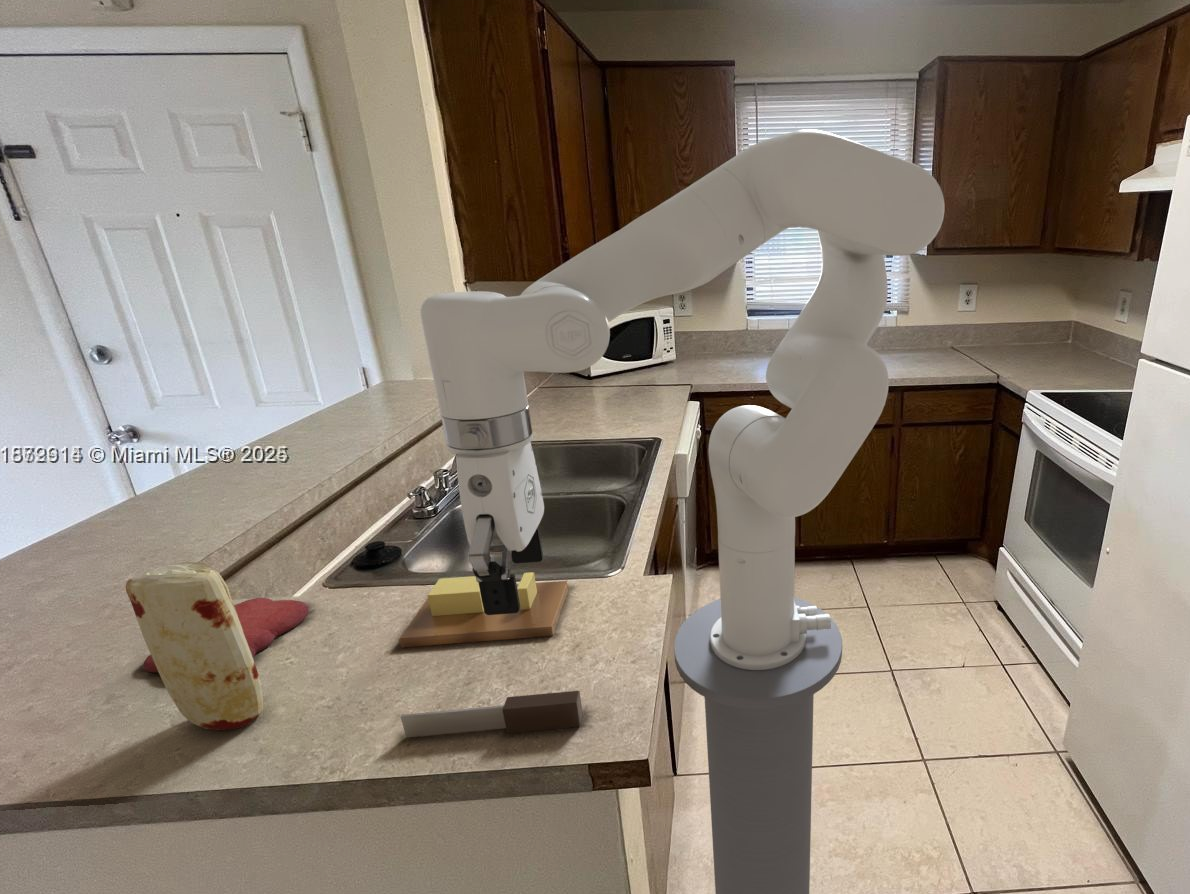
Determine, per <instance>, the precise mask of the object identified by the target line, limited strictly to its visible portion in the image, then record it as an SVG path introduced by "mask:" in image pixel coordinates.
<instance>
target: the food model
mask: <svg viewBox="0 0 1190 894" xmlns="http://www.w3.org/2000/svg"><path fill="white" fill-rule="evenodd" d="M125 592H126V594H127V597H128V600H129V601H130V604H131V606H132V609H133V612H134V615H135V618H136V620H137V624H138V626H139V629H140V632H141V636H142V638H143V640H144V642H145V644H146V646H147V649H148V652H149V653H150V655H151V656H152V658H153V660H154V663H155V665H156V667H157V669H158V672H159V673H158V672H157V673H158V674H159V676H160V678H161V681H162V683H163V685H164V688H165V689H166V691H167V693H168V695H169V697H170V699H171V700H172V701H173V703H174V705H175V706H176V708H177V709H178V711H179V712H180V713H181V715H182V716H183V717H184V718H186V720H188V722H190V723H192V724H194V725H195V726H197V727H201V728H203V729H205V730H213V731H219V730H221V731H223V730H234V729H240V728H242V727H244V726H246V725H247V726H248V725H249V724H250V723H251V722H252V721H254V720H256V719H257V718H258V717H260V715H262V713H263V709H264V695H263V688H262V682H261V678H260V676H259V672H258V669H257V667H256V662H255V659H254V658H253V657H252V654H251V651H250V649H249V646H248V643H247V640H246V637H245V635H244V632H243V629H242V626H241V624H240V621H239V618H238V615H237V612H236V610H235V607H234V605H235V604H234V601H233V599H232V596H231V593H230V590H229V587H228V584H227V582H226V581H225V580H224V578H223V577H222V575H221V574H220V573H219V572H218V571H217V570H215V569H214V567H212V566H211V565H209V564H208V563H206V562H198V561H197V562H196V561H185V562H179V563H178V562H177V563H173V564H168V565H164V566H161V567H156V568H153V569H151V570H149V571H146V572H144V573H142V574H140V575H137V576H136V577H132V578H129V579H128V580H127V581H126V583H125Z"/></svg>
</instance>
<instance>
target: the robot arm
mask: <svg viewBox="0 0 1190 894" xmlns="http://www.w3.org/2000/svg"><path fill="white" fill-rule="evenodd" d="M945 210H946V209H945V198H944V194H943V191H942V188H941V186H940V184H939V182H938V181H937V180H936V178H935V177H934V176H933V175H932V174H931V173H930V172H929V171H928V170H926V169H924V168H923V167H922V166H920V165H918V164H916V163H914V162H912V161H908V160H906V159H903V158H900V157H898V156H895V155H892V154H890V153H886V152H883V151H881V150H878V149H875V148H873V147H870V146H868V145H865V144H862V143H860V142H857V141H855V140H852V139H849V138H846V137H843V136H840V135H837V134H834V133H831V132H827V131H824V130H819V129H808V128H807V129H798V130H795V131H791V132H789V133H788V132H787V133H785V134H781V135H777V136H774V137H770V138H767V139H763V140H761V141H759V142H757V143H755V144H753V145H750V146H749V147H747V148H745V149H744V150H742V151H741V152H740V153H738V154H736V155H735V156H733V157H732V158H730V159H729V160H727V161H726V162H724V163H722V164H721V165H719V166H718V167H716V168H715V169H713V170H712V171H711V172H708V173H707V174H706V175H704V176H702V177H701V178H699V179H698V180H696V181H695V182H693V183H691V184H690V185H689V186H687V187H685V188H684V189H683V190H680V191H678V192H677V193H675V194H674V195H673V196H671V197H670V198H668V199H666V200H665V201H663V202H661V203H660V204H659V205H657V206H655V207H654V208H652V209H650V210H648V211H647V212H645V213H643V214H642V215H640V216H638V217H637V218H634V219H633V220H632V221H631V222H629V223H628V224H626V225H625V226H623V227H622V228H621V229H619V230H617V231H615V232H613V233H612V234H610V235H608V236H607V237H605V238H603V239H601V240H600V241H598V242H596V243H595V244H593V245H591V246H590V247H588V248H586V249H584V250H583V251H581V252H579V253H578V254H577V255H575V256H573V257H571V258H570V259H568V260H567V261H565V262H564V263H562V264H560V265H559V266H558V267H556V268H555V269H553V270H551V271H550V272H548V273H546V274H545V275H543V276H542V277H540V278H538V279H537V280H536V281H534V282H533V283H531V284H530V285H529V286H528V287H526V288H525V289H524V290H523V291H522V292H521V293H520V294H519V295H515V296H506V295H504V294H503V293H499V292H495V291H487V290H486V291H483V290H475V291H471V290H470V291H452V292H444V293H439V294H433V295H431V296H429V297H427V298H426V299H424V300H423V303H422V304H421V308H420V318H421V325H422V330H423V334H424V339H425V344H426V349H427V353H428V354H427V355H428V359H429V363H430V369H431V373H432V379H433V383H434V388H435V393H436V399H437V403H438V408H439V412H440V418H441V423H442V424H441V425H442V429H443V432H444V438H445V444H446V448H447V450H448V452H450V453H451V454H454V455H455V462H456V473H457V474H456V476H457V484H458V491H459V492H458V493H459V500H460V505H461V506H460V507H461V515H462V520H463V525H464V530H465V533H466V534H465V535H466V539H467V543H468V546H469V551H468V555H467V556H468V557H467V558H468V562H469V564H470V566H471V567H472V568H471V569H472V572H473V576H476V581H477V582H478V583H479V588H480V593H481V598H482V603H483V608H484V612H485V614H486V615H498V614H511V613H517V612H519V610H520V601H519V595H518V590H517V584H518V583H517V578H516V574H515V573H511V569H512V563H513V564H528V563H540V562H542V561H543V559H544V553H543V552H544V551H543V546H542V540H541V533H540V528H539V525H540V524H541V521H542V519H543V516H544V514H545V503H544V502H545V501H544V496H543V492H542V488H541V487H542V486H541V482H540V477H539V473H538V468H537V463H536V458H535V454H534V450H533V447H532V442H533V441H534V433H533V425H532V417H531V412H530V405H529V400H528V393H527V386H526V379H525V372H530V373H531V372H532V373H534V372H536V373H552V374H553V373H554V374H555V373H557V374H567V373H568V374H569V373H575V372H580V371H583V370H587V369H588V368H591V366H593V365H595V364H597V363H598V362H599V361H600V360H601V359H602V357H603V356H604V355H605V353H606V352H607V349H608V347H609V343H610V337H611V329H610V324H609V323H611V322H613V320H615V319H616V318H618V317H620V316H622V315H623V314H624V313H626V312H628V311H630V310H632V309H633V308H635V307H637V306H640V305H643V304H644V303H647V302H650V301H652V300H655V299H658V298H662V297H666V296H670V295H677V294H681V293H685V292H688V291H691V290H693V289H696V288H699V287H701V286H703V285H706V284H708V283H709V282H711V281H712V280H714V279H715V278H716V277H718V276H719V275H721V274H722V273H724V272H725V271H726V270H728V269H729V268H730V267H732V266H734V265H735V264H736V263H738V262H739V261H741V260H742V259H744V258H745V257H747V256H748V255H750V254H751V253H752V252H754V251H755V250H757V249H759V248H760V247H761V246H763V245H764V244H766V243H767V242H769V241H770V240H772V239H773V238H775V237H776V236H777V235H779V234H780V233H782V232H783V231H786V230H789V229H811V230H816V233H817V237H818V240H819V241H818V242H819V246H820V250H821V261H822V262H821V272H820V276H819V279H818V283H817V284H816V287H815V288H814V290H813V292H812V294H811V295H810V297H809V299H808V301H807V302H806V303H805V305H804V307H803V308H802V310H801V311H800V313H799V314H798V315H797V317H796V319H795V321H794V322H793V324H792V325H791V327H790V328H789V330H787V333H786V334H785V336H784V337H783V339H781V342H780V343H779V345H778V346H777V347H776V349H775V351H774V352H773V354H772V355H771V357H770V360H769V362H768V364H767V367H766V372H765V381H766V385H767V388H768V390H769V392H770V393H771V395H772V396H773V397H774V398H775V399H776V400H777V401H778V402H779V403H781V404H783V405H784V406H786V407H788V408H790V409H791V410H790V411H789V412H788V414H787V416H786V417H784V416H783V415H780V414H778V413H776V412H774V411H773V410H771V409H768V408H765V407H763V406H759V405H751V404H747V405H740V406H736V407H734V408H731V409H729V410H727V411H726V412H725V413H723V414H722V415H721V416H720V417H719V418H718V420H716V422H715V424H714V425H713V428H712V430H711V432H710V435H709V440H708V449H707V450H708V463H709V471H710V476H711V480H712V486H713V493H714V497H715V506H716V518H717V520H716V522H717V546H718V572H719V593H720V594H719V595H720V598H719V599H721V618H719V619H718V620H717V621H716V623H715V624H714V625H713V627H712V629H711V634H710V642H711V647H712V650H713V651H714V653H715V654H716V655H717V656H718V657H719V658H720V659H721V660H722V661H724V662H726V663H727V664H729V665H732V666H734V667H737V668H741V669H747V670H767V669H773V668H777V667H780V666H783V665H785V664H787V663H789V662H791V661H792V660H794V659H795V658H796V657H797V656H798V655H799V654H800V653H801V652H802V650H803V649H804V647H805V643H806V633H807V630H815V629H816V630H823V629H830V628H831V620H830V618H831V616H830V614H829V613H826V614H821V615H818V612H817V607H818V606H817V605H815V606H809V607H802V608H800V607H799V606H796V604H795V601H794V597H795V580H796V579H795V578H796V577H795V567H796V566H795V565H796V564H795V563H796V561H795V560H796V556H795V555H796V554H795V553H796V551H795V550H796V518H797V517H800V516H803V515H805V514H808V513H809V512H811V511H812V510H814V509H815V508H816V507H818V506H819V505H820V504H821V503H822V502H823V500H825V498H826V497H827V496H828V495H829V493H831V491H832V489H834V487H835V486H836V484H837V482H838V481H839V479H840V478H841V477H842V475H843V474H844V472H845V471H846V469H847V468H848V466H849V464H850V463H851V461H852V460H853V458H854V457H855V456H856V454H857V453H858V451H859V450H860V448H861V447H862V445H863V444H864V442H865V441H866V439H867V438H868V436H869V434H870V433H871V432H872V430H873V428H874V426H875V425H876V424H877V422H878V421H879V418H880V417H881V415H882V413H883V410H884V407H885V406H886V401H887V398H888V395H889V387H890V383H889V382H890V379H889V372H888V367H887V366H886V363H885V361H884V359H883V357H882V356H881V355H880V354H879V353H878V352H877V351H876V350H875V349H874V348H872V347H871V346H870V345H867V344H869V342H870V340H871V338H872V336H873V335H874V333H875V331H876V330H877V327H878V326H879V324H880V323H881V321H882V318H883V316H884V314H885V310H886V307H887V303H888V276H887V269H886V261H885V256H893V257H896V256H897V257H898V256H899V257H901V256H910V255H912V254H916V253H918V252H920V251H922V250H924V249H925V248H926V247H927V246H928V245H930V244H931V243H932V242H933V240H934V239H935V238H936V237H937V235H938V233H939V231H940V230H941V228H942V224H943V222H944V217H945ZM492 542H493V543H494V542H502V544H501V545H500V544H498V545H492ZM492 555H501V562H500V563H498V562H497V561H492V557H491V556H492Z"/></svg>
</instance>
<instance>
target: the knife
mask: <svg viewBox="0 0 1190 894" xmlns="http://www.w3.org/2000/svg"><path fill="white" fill-rule="evenodd" d="M583 715H584V712H583V706H582V697H581V692H580V690H571V691H569V690H568V691H561V692H559V691H558V692H547V693H537V694H527V695H514V696H507V697H506V699H505V702H504V704H503V705H502V704H501V705H493V706H482V707H470V708H461V709H448V710H439V711H438V710H437V711H427V712H417V713H405V714H401V715H400V720H401V724H402V727H403V731H404V735H405V738H407V739H408V738H417V737H418V738H419V737H428V736H429V737H430V736H438V735H440V736H441V735H450V734H451V735H452V734H460V733H470V732H482V731H491V730H492V731H493V730H501V729H505V731H506V734H518V733H525V732H526V733H527V732H536V731H547V730H557V729H568V728H577V727H581V724H582V719H583Z"/></svg>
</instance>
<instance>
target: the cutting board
mask: <svg viewBox="0 0 1190 894" xmlns="http://www.w3.org/2000/svg"><path fill="white" fill-rule="evenodd" d="M516 584H517V587H518V585H519V583H516ZM536 588H537V594H536V596H535V598H534V601H533V603H532V606H531V608H530V609H525V610H519V612H517V613H511V614H498V615H486V614H485V612H482V613H468V614H455V615H441V616H432V613H431V609H430V604H429V600H428V598H427V599H426V600H425V602H423V605H422V606H421V607H420V608H419V610H418V611H417V613H416V614H415V616H414V617H413V618H412V620H411V621H410V623H409V624H408V625H407V626H406V628H405V629H404V631H403V633H402V634H401V635H400V636H399V638H398V641H399V644H400V648H414V647H426V646H438V645H450V644H462V643H463V644H464V643H465V644H466V643H475V642H489V641H500V640H514V639H526V638H527V639H529V638H539V637H541V638H542V637H551V636H554V633H555V631H556V628H557V624H558V622H559V619H560V617H561V613H562V610H563V608H564V605H565V600H566V598H567V596H568V593H569V589H570V588H569V580H561V581H560V580H559V581H546V582H536Z"/></svg>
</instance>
